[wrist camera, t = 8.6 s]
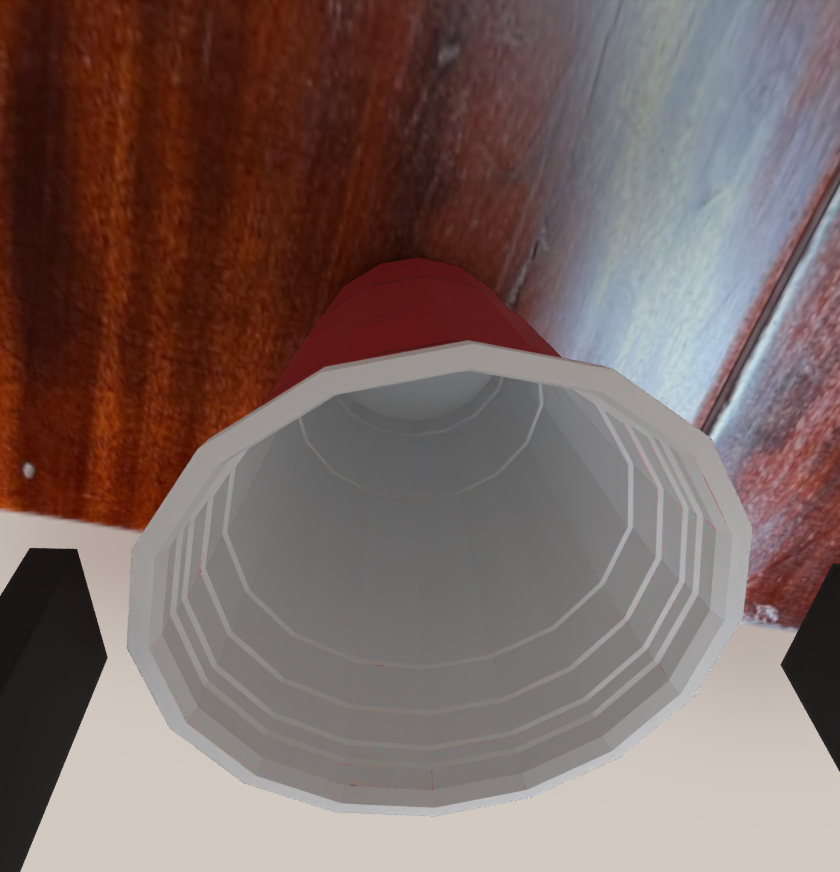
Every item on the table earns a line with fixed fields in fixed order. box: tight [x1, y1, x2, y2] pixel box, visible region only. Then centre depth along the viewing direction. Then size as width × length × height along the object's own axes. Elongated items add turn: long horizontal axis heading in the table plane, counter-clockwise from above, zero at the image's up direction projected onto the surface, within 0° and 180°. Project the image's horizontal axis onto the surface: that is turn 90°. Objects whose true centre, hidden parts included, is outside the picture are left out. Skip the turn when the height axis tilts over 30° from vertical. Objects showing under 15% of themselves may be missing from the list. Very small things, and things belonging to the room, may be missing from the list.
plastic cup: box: [127, 257, 753, 817], centre depth 17 cm, size 11×11×12 cm
